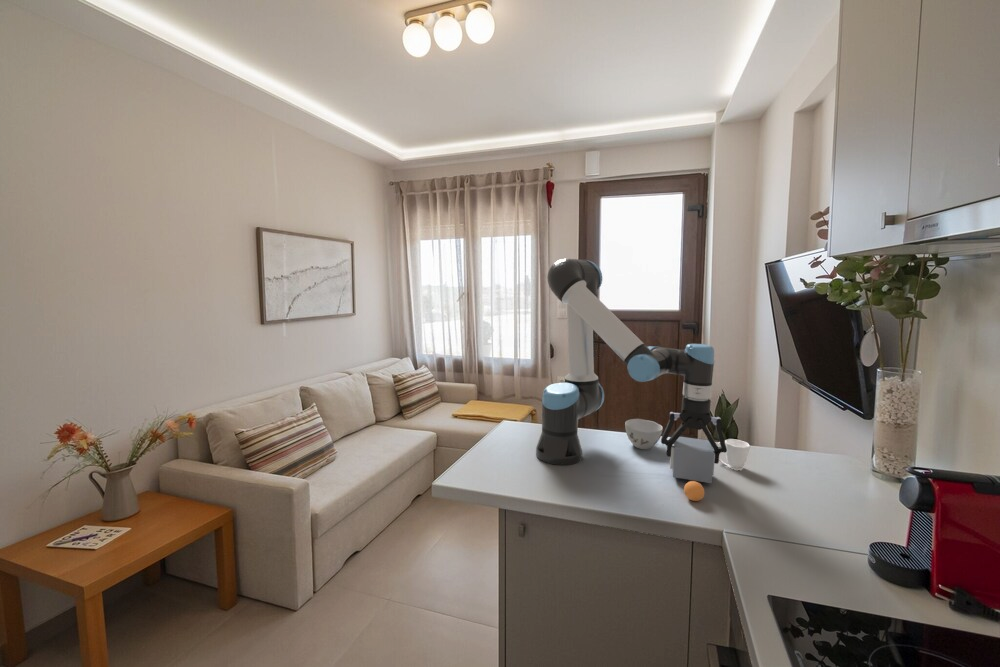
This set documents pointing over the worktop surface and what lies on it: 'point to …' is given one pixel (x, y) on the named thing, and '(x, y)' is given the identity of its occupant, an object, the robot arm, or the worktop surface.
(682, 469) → the matte grey cuboid
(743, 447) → the cup
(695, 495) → the ball
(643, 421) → the teacup
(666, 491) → the worktop surface
